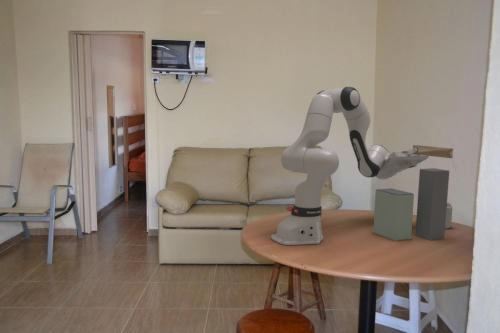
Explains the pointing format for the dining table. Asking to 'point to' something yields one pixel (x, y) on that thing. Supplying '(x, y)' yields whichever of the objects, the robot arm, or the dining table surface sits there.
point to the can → (448, 216)
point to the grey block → (393, 214)
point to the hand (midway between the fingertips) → (420, 148)
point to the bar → (434, 151)
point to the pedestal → (432, 203)
